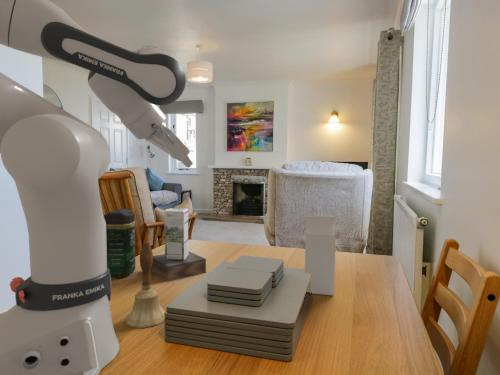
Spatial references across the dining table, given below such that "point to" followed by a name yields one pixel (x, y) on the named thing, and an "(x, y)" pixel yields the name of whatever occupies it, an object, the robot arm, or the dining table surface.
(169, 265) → the podium
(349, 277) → the dining table surface
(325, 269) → the milk carton
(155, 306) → the hand bell
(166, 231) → the syrup box
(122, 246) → the coffee jar
